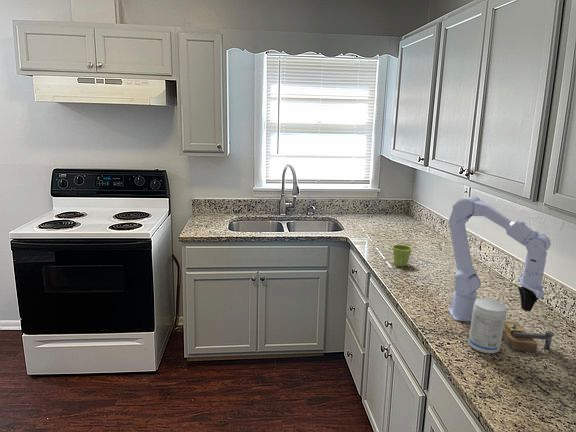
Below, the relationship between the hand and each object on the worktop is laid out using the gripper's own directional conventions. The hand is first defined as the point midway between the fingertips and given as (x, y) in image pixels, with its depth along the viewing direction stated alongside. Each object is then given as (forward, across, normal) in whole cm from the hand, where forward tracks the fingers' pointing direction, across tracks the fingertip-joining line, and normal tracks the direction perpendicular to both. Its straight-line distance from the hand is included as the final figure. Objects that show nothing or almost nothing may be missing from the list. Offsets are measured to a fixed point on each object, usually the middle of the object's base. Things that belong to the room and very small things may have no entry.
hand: (526, 309), depth 151 cm
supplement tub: (+10, -9, +16) cm, 21 cm away
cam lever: (+10, -7, 0) cm, 12 cm away
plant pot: (+10, +68, +29) cm, 74 cm away
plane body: (+10, -2, +3) cm, 11 cm away
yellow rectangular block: (+7, -3, +4) cm, 9 cm away
